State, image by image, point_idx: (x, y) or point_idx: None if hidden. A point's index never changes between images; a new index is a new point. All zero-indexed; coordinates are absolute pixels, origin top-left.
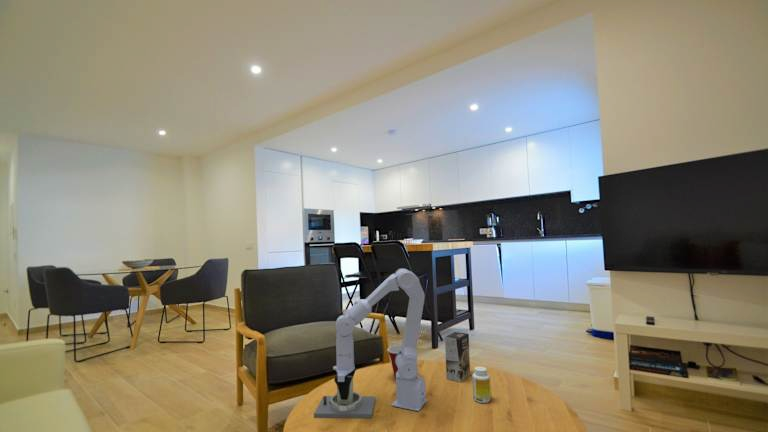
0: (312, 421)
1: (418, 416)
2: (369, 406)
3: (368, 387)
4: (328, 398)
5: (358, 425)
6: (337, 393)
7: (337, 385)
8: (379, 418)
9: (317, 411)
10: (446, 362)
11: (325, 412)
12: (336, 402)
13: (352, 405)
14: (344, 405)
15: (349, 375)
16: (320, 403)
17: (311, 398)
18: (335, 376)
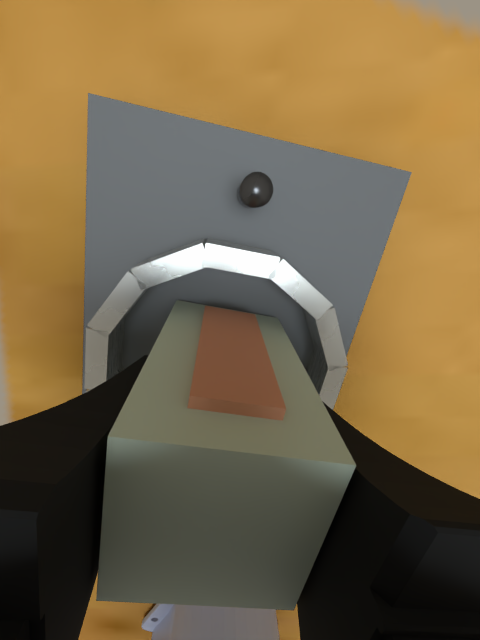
0: (39, 95)
1: (105, 615)
2: None
3: (456, 458)
4: (350, 219)
5: (9, 410)
6: (156, 343)
7: (10, 427)
8: None
9: (124, 128)
10: None
11: (103, 206)
12: (263, 288)
13: None
14: (90, 370)
15: (314, 581)
16: (273, 149)
17: (458, 50)
18: (5, 520)
